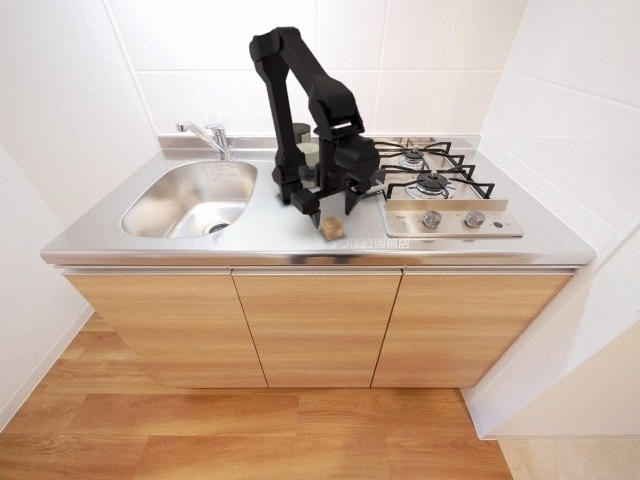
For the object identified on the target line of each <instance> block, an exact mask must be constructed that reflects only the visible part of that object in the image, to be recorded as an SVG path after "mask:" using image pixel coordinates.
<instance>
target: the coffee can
mask: <svg viewBox="0 0 640 480" xmlns="http://www.w3.org/2000/svg"><path fill="white" fill-rule="evenodd" d="M293 128H294V134H295V140H296V145H297V144H300V143H312V132H311V130H312V126H311V125H310V124H308V123H305V122H293Z"/></svg>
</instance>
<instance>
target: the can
mask: <svg viewBox="0 0 640 480" xmlns="http://www.w3.org/2000/svg"><path fill="white" fill-rule="evenodd" d="M297 147H298V148H299V149H300V150H301V151H302V152H304V153H305V156H306V163H307V165H308V166H309V167H312V166H315V165H316V163H319V144H316V143H313V142H311V143H300V144H297ZM301 182H302V183H303V189H305V188H307V189H310V188H315V187H316V186H315V185H314V182H308V181H302V180H301Z"/></svg>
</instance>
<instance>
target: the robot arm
mask: <svg viewBox="0 0 640 480" xmlns="http://www.w3.org/2000/svg"><path fill="white" fill-rule="evenodd" d="M248 51H249V55H250V59H251V62H253V66H254V69H255V72H256V74H257V75H258V76H259V77H260V79H261V80H262V82H263V83H264V85H265V88H266V93H267V98H268V102H269V109H270V112H271V118H272V122H273V123H272V124H273V127H274V133H275V138H276V143H277V150H276V154H275V155H274V163H275V166H274V168H273V170H272V171H271V178H272V181H273V183H275V184H276V185H277V186H278V190H279V193H278V197H279V199H280V200H281V202H282V204H283V205H284V206H287V205H292V206H293V207H294V208H296V210H298V212H300V213H301V214H302V215H304V216H309V218H310V220H311V222H312V225H313V226H314V229H316V230H319V228H320V225H321V217H322V209H320V208H321V201H323V200H326V199H328V198H331V197H334V196H336V195H339V194H341V193H343V192H344V215H345V216H346V217H349V216H350V214H351V213H352V212H353V210H354V208H356V206H357V204H358V203H359V202H360V200H362V198H364V197H363V195H365V194H366V193H367V191H368V190H371V180H370V178H369V177H371V176H372V175H373V174H374V173H375V171H376V170H377V168H378V167H379V165H380V163H381V156H380V152H379V149H378V148H376V147H375V146H374V145H375V144H374V143H375V142H374V141H375V140H374V139H373V138H371V137H365V136H363V135H361V134H365V132H366V128H365V126H364V120H363V118H362V116H361V113H360V111H359V107H358V104H357V99H356V97H355V95H354V93H353V91H352V90H351V89H350V88H348V87H347V86H346V85H345V84H344V83H343V82H342V81H340V80H338V79H336V78H334V77H331V76H330V75H329V74H328V73H327V71H325V68H324V67H323V66H322V64H321V63H320V61H318V59H317V58H316V56H315V54H314V53H313V52H312V51H311V49H310V47H309V46H308V45H307V44H306V42H305V40H304V39H303V37H302V34H301V31H300V29H299V28H298V27H295V26H294V25H293V26H276V27H275V28H273V29H271V30H270V31H268V32H265V33H263V34H256V35H255V34H254V35H253V36H252V39H251V40H250V41H249V44H248ZM290 71H291V73H292V74H293V76H294V77H295V79H296V80H297V81H298V84H299V85H300V87H302V89H303V91H304V92H305V95H306V96H307V98H308V99H307V100H308V102H307V109H308V112H309V113H310V115H311V118H312V120H313V121H314V123H315V125H316V127H315V128H313V130H312V133H313V134H315V135H316V136H318V145H319V163H316V165H315V166H312V167H309V166H308V165H307V163H306V156H305V153H304V152H302V151H301V150H300V149H299V148H298V147H297V145H296V140H295V134H294V128H293V123H294V122H293V117H292V110H291V104H290V97H289V91H288V86H287V85H288V84H287V78H288V76H289V72H290ZM349 123H350V124H349ZM348 124H349V125H348ZM338 126H340V127H338ZM348 172H349V173H348ZM346 173H348V174H346ZM301 180H302V181H308V182H314V185H315V187H316V188H318V187H319V190H316V191H311V190H310V188H303V183H302V182H301Z"/></svg>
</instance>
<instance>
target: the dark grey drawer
mask: <svg viewBox="0 0 640 480" xmlns="http://www.w3.org/2000/svg"><path fill="white" fill-rule="evenodd" d="M348 173H349V172H348ZM348 173H346V174H348ZM386 177H387V169H386V168H380V167H379V166H378V168H377V170H376V171H375V173H374V174H373V175H372V176H371V177H369V178H370V180H371V190H368V191H367V193H366V194H365V195H363V197H362V198H365V197H369V196H372V195H376V194H378V193H377V192H380V191H382V190H383V191H384V190H387V189H388V188H387V187H388V186H387V184H386V183H385V182H386ZM380 193H381V192H380Z"/></svg>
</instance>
